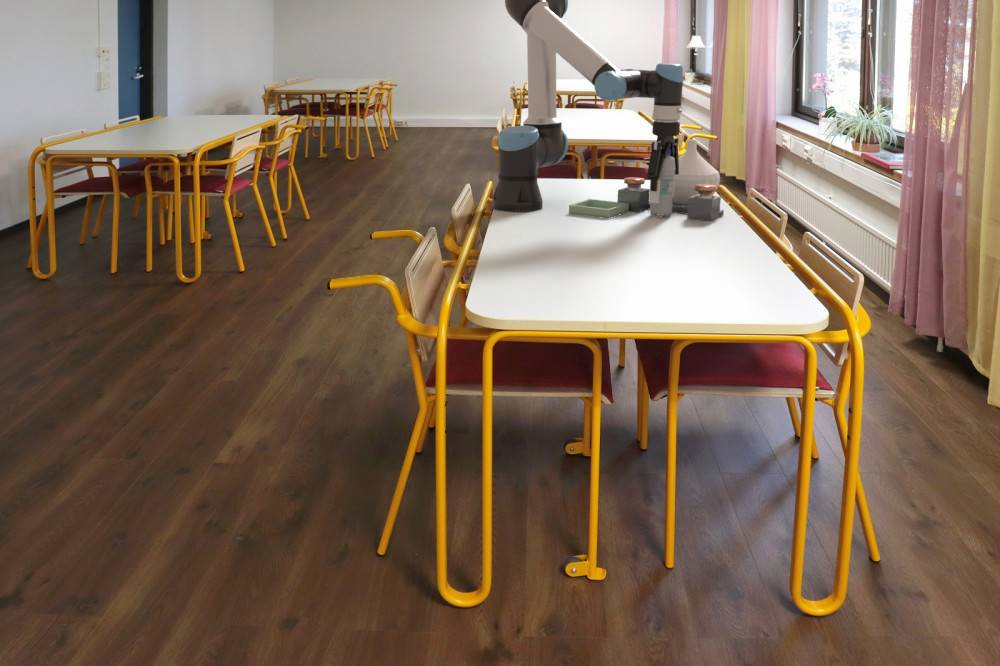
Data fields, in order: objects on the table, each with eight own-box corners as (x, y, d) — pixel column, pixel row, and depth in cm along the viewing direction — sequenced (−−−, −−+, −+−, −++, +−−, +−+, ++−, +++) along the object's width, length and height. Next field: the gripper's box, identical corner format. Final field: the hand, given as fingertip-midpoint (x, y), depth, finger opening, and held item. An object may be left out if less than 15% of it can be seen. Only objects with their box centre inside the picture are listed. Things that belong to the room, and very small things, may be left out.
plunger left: (619, 206, 288) (620, 179, 286) (628, 203, 293) (629, 176, 291) (638, 209, 285) (639, 181, 283) (646, 206, 290) (648, 178, 288)
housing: (617, 210, 289) (618, 189, 287) (631, 204, 297) (633, 185, 295) (710, 221, 274) (712, 199, 272) (723, 215, 283) (725, 194, 281)
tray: (568, 213, 282) (569, 205, 281) (589, 207, 293) (589, 198, 292) (609, 218, 276) (609, 209, 275) (628, 211, 286) (629, 203, 285)
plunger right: (689, 215, 277) (691, 186, 275) (697, 211, 282) (699, 183, 280) (709, 217, 274) (712, 188, 272) (717, 214, 279) (719, 185, 277)
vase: (651, 197, 310) (655, 136, 304) (707, 197, 312) (711, 136, 306) (666, 208, 293) (671, 143, 287) (725, 207, 294) (731, 143, 289)
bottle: (671, 219, 276) (676, 147, 270) (648, 217, 278) (652, 147, 272) (672, 214, 283) (677, 145, 277) (649, 213, 284) (653, 144, 278)
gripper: (663, 124, 261) (658, 206, 268) (694, 118, 279) (688, 195, 286) (637, 123, 265) (633, 204, 271) (669, 117, 283) (664, 193, 290)
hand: (661, 199), depth 279 cm, fingers open, 10 cm apart
